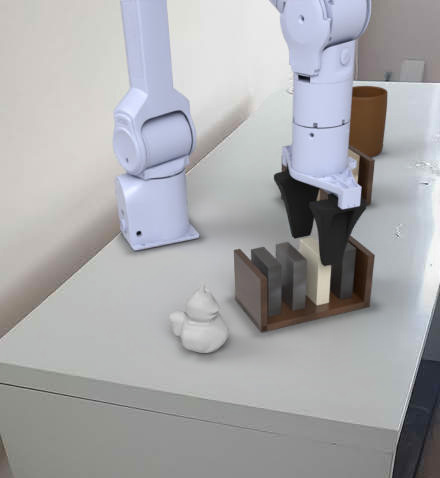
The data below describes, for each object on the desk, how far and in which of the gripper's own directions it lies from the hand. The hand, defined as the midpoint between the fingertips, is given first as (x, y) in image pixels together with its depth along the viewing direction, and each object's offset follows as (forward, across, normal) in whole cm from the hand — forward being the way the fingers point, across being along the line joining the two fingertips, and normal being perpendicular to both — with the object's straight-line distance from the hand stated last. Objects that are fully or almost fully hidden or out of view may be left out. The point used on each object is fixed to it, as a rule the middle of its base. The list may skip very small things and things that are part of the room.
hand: (315, 249), depth 80 cm
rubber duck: (+7, -4, +16) cm, 17 cm away
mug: (+7, +44, -28) cm, 52 cm away
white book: (+6, 0, 0) cm, 6 cm away
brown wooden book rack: (+6, +26, -14) cm, 31 cm away
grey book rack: (+6, 0, +2) cm, 7 cm away
